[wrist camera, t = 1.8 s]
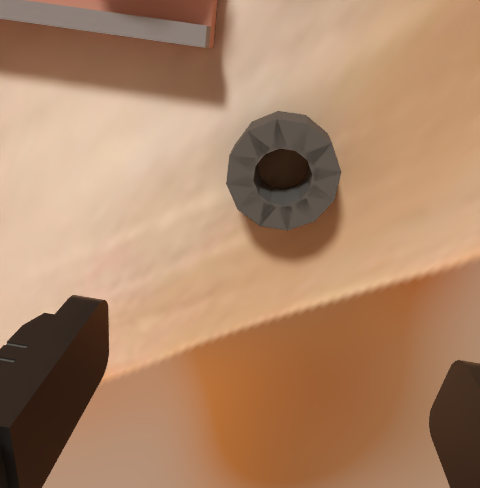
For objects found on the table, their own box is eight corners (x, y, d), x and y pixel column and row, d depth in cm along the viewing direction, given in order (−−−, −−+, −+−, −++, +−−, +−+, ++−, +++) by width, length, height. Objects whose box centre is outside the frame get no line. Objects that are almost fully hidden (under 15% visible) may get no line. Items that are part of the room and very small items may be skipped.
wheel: (344, 120, 24) (351, 130, 22) (321, 217, 27) (325, 236, 24) (240, 105, 24) (234, 112, 22) (228, 203, 27) (222, 220, 25)
